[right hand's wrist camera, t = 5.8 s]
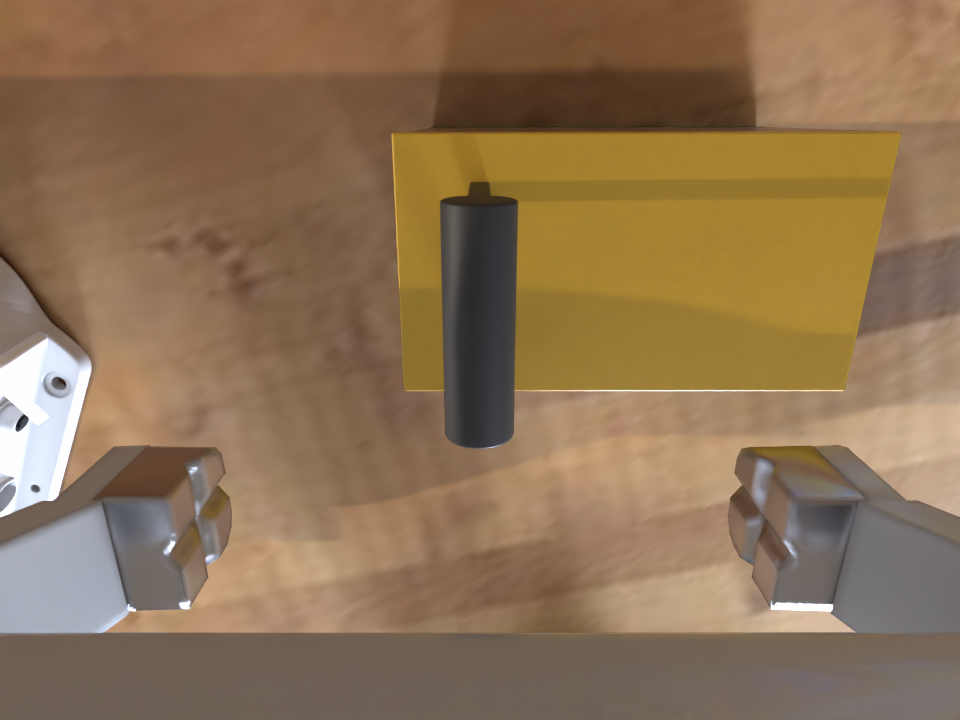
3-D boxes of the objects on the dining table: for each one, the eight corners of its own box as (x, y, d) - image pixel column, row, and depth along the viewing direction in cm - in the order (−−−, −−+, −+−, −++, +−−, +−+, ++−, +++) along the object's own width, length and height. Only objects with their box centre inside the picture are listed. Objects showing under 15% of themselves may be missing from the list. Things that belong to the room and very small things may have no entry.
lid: (407, 379, 27) (374, 495, 19) (395, 132, 23) (348, 140, 15) (829, 379, 27) (982, 495, 18) (881, 131, 23) (1099, 139, 15)
